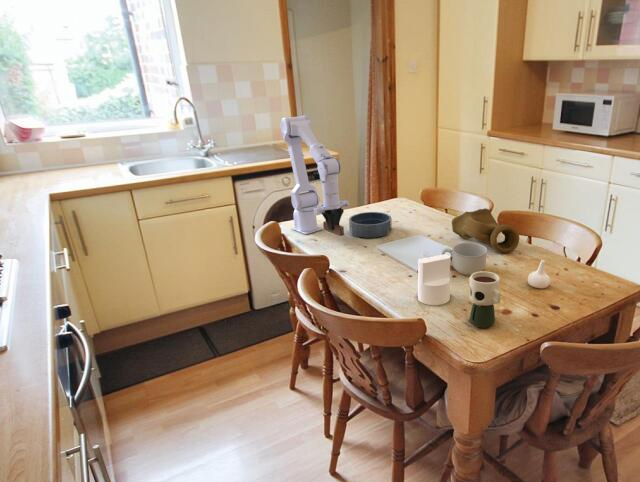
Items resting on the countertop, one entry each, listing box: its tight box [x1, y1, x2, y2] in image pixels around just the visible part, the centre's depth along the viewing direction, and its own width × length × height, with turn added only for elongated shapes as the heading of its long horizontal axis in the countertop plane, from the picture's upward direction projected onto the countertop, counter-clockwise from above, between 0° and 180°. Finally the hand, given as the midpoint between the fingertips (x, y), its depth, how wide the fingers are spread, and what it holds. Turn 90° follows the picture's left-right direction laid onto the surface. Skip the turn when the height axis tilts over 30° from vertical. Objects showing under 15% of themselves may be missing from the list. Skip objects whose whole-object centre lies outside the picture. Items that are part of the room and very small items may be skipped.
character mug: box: [468, 270, 502, 329], centre depth 115 cm, size 11×7×13 cm, turn 30°
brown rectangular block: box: [322, 220, 345, 237], centre depth 171 cm, size 10×2×3 cm, turn 43°
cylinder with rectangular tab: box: [417, 253, 451, 306], centre depth 129 cm, size 9×9×12 cm
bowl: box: [348, 211, 393, 239], centre depth 183 cm, size 17×17×6 cm
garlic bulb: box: [527, 259, 551, 289], centre depth 135 cm, size 6×6×8 cm
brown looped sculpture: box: [451, 207, 520, 254], centre depth 167 cm, size 18×13×22 cm
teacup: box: [440, 241, 488, 277], centre depth 146 cm, size 14×11×8 cm
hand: (333, 228), depth 171 cm, fingers closed on brown rectangular block, 2 cm apart
